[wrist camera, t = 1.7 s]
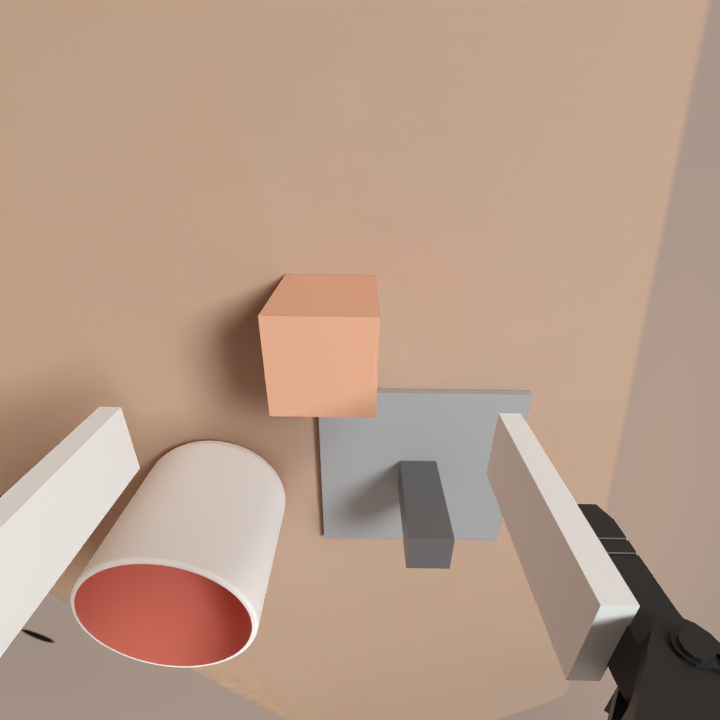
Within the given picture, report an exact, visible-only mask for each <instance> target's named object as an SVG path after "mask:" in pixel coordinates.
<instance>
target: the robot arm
mask: <svg viewBox="0 0 720 720" xmlns="http://www.w3.org/2000/svg"><path fill="white" fill-rule="evenodd" d="M139 469H140V467H139V464H138V460H137V457H136V454H135V451H134V447H133V444H132V441H131V438H130V435H129V431H128V428H127V425H126V422H125V418H124V415H123V412H122V409H121V407H98V408H97V409H96V410H95V411H94V412H93V413H92V414H91V415H90V416H89V417H88V418H86V419H85V420H84V421H83V422H82V423H81V424H80V425H79V426H78V427H77V428H76V429H74V430H73V431H72V432H71V433H70V434H69V435H68V436H67V437H66V438H65V439H64V440H62V441H61V442H60V443H59V444H58V445H57V446H56V447H55V448H54V449H53V450H52V451H50V452H49V453H48V454H47V455H46V456H45V457H44V458H43V459H42V460H41V461H40V462H38V463H37V464H36V465H35V466H34V467H33V468H32V469H31V470H30V471H29V472H28V473H26V474H25V475H24V476H23V477H22V478H21V479H20V480H19V481H18V482H17V483H16V484H15V485H13V486H12V487H11V488H10V489H9V490H8V491H7V492H6V493H5V494H4V495H3V496H0V657H1V656H2V655H3V653H4V652H5V650H6V649H7V648H8V646H9V645H10V644H11V642H12V641H13V639H14V638H15V637H16V636H17V634H18V633H19V632H20V630H21V629H22V627H23V626H24V625H25V623H26V622H27V620H28V619H29V618H30V617H31V615H32V614H33V613H34V611H35V610H36V608H37V607H38V606H39V604H40V603H41V602H42V600H43V599H44V598H45V596H46V595H47V594H48V592H49V591H50V590H51V588H52V587H53V585H54V584H55V583H56V581H57V580H58V579H59V577H60V576H61V575H62V573H63V572H64V571H65V569H66V568H67V566H68V565H69V564H70V562H71V561H72V560H73V558H74V557H75V556H76V554H77V553H78V552H79V550H80V549H81V548H82V546H83V545H84V543H85V542H86V541H87V539H88V538H89V537H90V535H91V534H92V533H93V531H94V530H95V529H96V527H97V526H98V524H99V523H100V522H101V520H102V519H103V518H104V516H105V515H106V514H107V512H108V511H109V510H110V508H111V507H112V505H113V504H114V503H115V501H116V500H117V499H118V497H119V496H120V495H121V493H122V492H123V491H124V489H125V488H126V486H127V485H128V484H129V482H130V481H131V480H132V478H133V477H134V476H135V474H136V473H137V472H138V470H139ZM486 474H487V477H488V479H489V482H490V485H491V487H492V490H493V492H494V495H495V497H496V500H497V503H498V505H499V508H500V510H501V513H502V516H503V518H504V521H505V523H506V526H507V528H508V531H509V534H510V536H511V539H512V541H513V544H514V546H515V549H516V552H517V554H518V557H519V559H520V562H521V564H522V567H523V570H524V572H525V575H526V577H527V580H528V582H529V585H530V588H531V590H532V593H533V595H534V598H535V601H536V603H537V606H538V608H539V611H540V613H541V616H542V619H543V621H544V624H545V626H546V629H547V631H548V634H549V637H550V639H551V642H552V644H553V647H554V649H555V652H556V655H557V657H558V660H559V662H560V665H561V667H562V670H563V673H564V675H565V678H566V680H585V681H586V680H587V681H600V680H601V678H602V676H603V675H604V673H605V671H606V669H607V667H609V669H610V671H611V673H612V676H613V678H614V680H615V682H616V684H617V686H618V687H617V689H616V690H615V692H614V694H613V695H612V697H611V699H610V701H609V703H608V704H607V706H606V708H605V709H604V711H606V712H607V713H609V716H608V720H720V643H719V642H718V641H717V640H716V639H715V638H714V637H713V636H712V635H711V634H710V633H708V632H707V631H706V630H704V629H702V628H701V627H700V626H698V625H697V624H695V623H693V622H691V621H688V620H686V619H684V618H682V616H681V615H680V614H679V613H678V611H677V610H676V608H675V607H674V606H673V604H672V603H671V601H670V600H669V598H668V597H667V596H666V594H665V593H664V591H663V590H662V588H661V587H660V585H659V584H658V583H657V581H656V580H655V578H654V577H653V575H652V574H651V573H650V571H649V570H648V568H647V567H646V565H645V564H644V562H643V561H642V560H641V558H640V557H639V556H637V555H636V551H635V550H634V548H633V547H632V545H631V544H630V542H629V541H627V540H626V537H625V535H624V534H623V532H622V531H621V529H620V528H619V526H618V525H617V524H616V522H615V521H614V519H612V518H611V517H610V516H609V515H608V514H606V513H605V512H604V511H603V510H602V509H601V508H599V507H598V506H597V505H592V504H577V503H576V502H575V500H574V499H573V497H572V495H571V494H570V492H569V490H568V489H567V487H566V486H565V484H564V482H563V481H562V479H561V478H560V476H559V474H558V473H557V471H556V469H555V468H554V466H553V465H552V463H551V461H550V460H549V458H548V457H547V455H546V453H545V452H544V450H543V448H542V447H541V445H540V444H539V442H538V440H537V439H536V437H535V436H534V434H533V432H532V431H531V429H530V427H529V426H528V424H527V423H526V421H525V419H524V418H523V416H522V415H521V413H498V418H497V423H496V428H495V433H494V438H493V443H492V448H491V453H490V458H489V463H488V468H487V473H486Z"/></svg>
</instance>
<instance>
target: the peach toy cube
mask: <svg viewBox="0 0 720 720" xmlns="http://www.w3.org/2000/svg"><path fill="white" fill-rule="evenodd" d="M258 321H259V330H260V338H261V347H262V356H263V364H264V373H265V381H266V390H267V399H268V407H269V416H290V417H365V418H376V412H377V384H378V355H379V327H380V314H379V304H378V294H377V284H376V276H366V275H285V276H284V277H283V279H282V280H281V282H280V283H279V285H278V286H277V288H276V289H275V291H274V292H273V294H272V295H271V297H270V298H269V300H268V301H267V303H266V304H265V306H264V307H263V309H262V311H261V312H260V314H259V315H258Z"/></svg>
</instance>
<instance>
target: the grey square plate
mask: <svg viewBox="0 0 720 720" xmlns="http://www.w3.org/2000/svg"><path fill="white" fill-rule="evenodd" d="M531 399H532V393H531V392H530V391H510V390H434V389H377V412H376V418H365V417H319V437H320V458H321V480H322V501H323V522H324V538H355V539H403V541H404V551H405V561H406V568H446V569H449V568H450V563H451V557H452V551H453V546H454V540H494V541H496V539H497V535H498V531H499V527H500V523H501V519H502V513H501V510H500V508H499V505H498V503H497V500H496V497H495V495H494V492H493V490H492V487H491V485H490V482H489V479H488V477H487V474H486V473H487V468H488V463H489V458H490V453H491V448H492V443H493V438H494V433H495V428H496V423H497V418H498V413H521V415H522V416H523V418H524V419H525V421H526V419H527V415H528V411H529V407H530V403H531Z"/></svg>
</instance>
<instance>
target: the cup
mask: <svg viewBox="0 0 720 720" xmlns="http://www.w3.org/2000/svg"><path fill="white" fill-rule="evenodd" d="M284 510H285V492H284V488H283V485H282V482H281V480H280V478H279V476H278V475H277V473H276V471H275V470H274V469H273V468H272V467H271V466H270V464H269V463H267V462H266V461H265V460H264V459H263V458H262V457H260V456H259V455H257V454H256V453H254V452H252V451H251V450H249V449H247V448H244V447H242V446H239V445H236V444H232V443H228V442H223V441H211V440H210V441H196V442H191V443H187V444H185V445H182V446H179V447H177V448H175V449H173V450H171V451H170V452H168V453H167V454H165V455H164V456H163V457H162V458H161V459H159V460H158V462H157V463H156V464H155V465H154V467H153V468H152V469H151V471H150V472H149V474H148V475H147V477H146V478H145V480H144V481H143V483H142V484H141V486H140V487H139V489H138V490H137V492H136V493H135V495H134V496H133V497H132V499H131V500H130V502H129V503H128V505H127V506H126V508H125V509H124V511H123V512H122V514H121V515H120V517H119V518H118V520H117V521H116V523H115V524H114V526H113V527H112V528H111V530H110V531H109V533H108V534H107V536H106V537H105V539H104V540H103V542H102V543H101V545H100V546H99V548H98V549H97V551H96V552H95V554H94V555H93V557H92V558H91V560H90V561H89V563H88V564H87V565H86V567H85V568H84V570H83V571H82V573H81V574H80V576H79V577H78V579H77V580H76V582H75V583H74V585H73V587H72V591H71V594H70V605H71V609H72V612H73V615H74V617H75V619H76V620H77V622H78V623H79V625H80V626H81V627H82V628H83V629H84V631H86V632H87V633H88V634H89V635H90V636H91V637H92V638H93V639H95V640H96V641H98V642H99V643H100V644H102V645H104V646H105V647H107V648H109V649H111V650H113V651H115V652H117V653H119V654H121V655H124V656H126V657H129V658H132V659H135V660H138V661H142V662H145V663H150V664H155V665H161V666H168V667H201V666H208V665H213V664H218V663H221V662H224V661H227V660H229V659H231V658H234V657H235V656H237V655H239V654H240V653H242V652H243V651H244V650H246V649H247V648H248V647H249V646H250V644H251V643H252V642H253V640H254V638H255V636H256V634H257V630H258V626H259V622H260V617H261V613H262V608H263V604H264V599H265V595H266V591H267V586H268V582H269V577H270V573H271V568H272V564H273V559H274V555H275V550H276V546H277V542H278V537H279V533H280V528H281V524H282V519H283V515H284Z"/></svg>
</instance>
